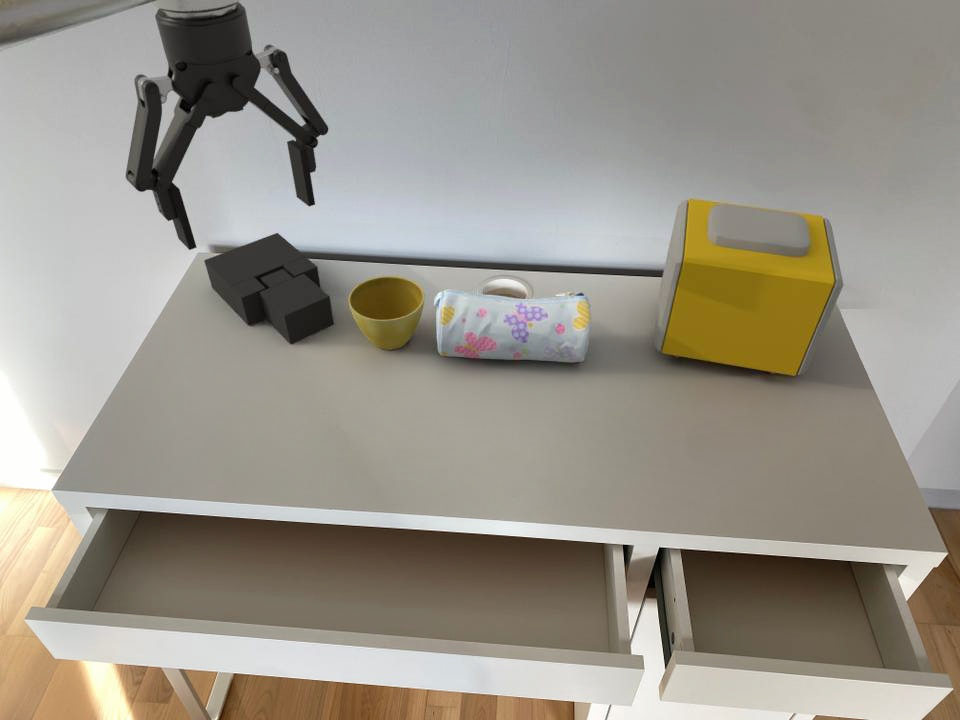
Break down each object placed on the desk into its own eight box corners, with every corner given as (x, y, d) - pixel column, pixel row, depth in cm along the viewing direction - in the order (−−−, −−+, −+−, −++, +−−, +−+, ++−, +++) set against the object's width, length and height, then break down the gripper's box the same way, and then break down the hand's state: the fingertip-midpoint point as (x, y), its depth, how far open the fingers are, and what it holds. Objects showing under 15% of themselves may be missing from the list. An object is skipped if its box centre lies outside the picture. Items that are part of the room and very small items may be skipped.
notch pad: (248, 326, 102) (241, 297, 98) (212, 287, 108) (203, 260, 105) (322, 294, 108) (317, 266, 104) (283, 259, 114) (277, 232, 111)
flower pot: (407, 308, 105) (404, 267, 100) (439, 347, 99) (437, 305, 94) (343, 329, 101) (337, 288, 97) (371, 371, 95) (366, 329, 90)
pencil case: (584, 333, 101) (592, 278, 95) (590, 375, 95) (599, 319, 88) (437, 330, 101) (434, 275, 95) (433, 372, 95) (430, 316, 89)
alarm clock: (793, 316, 105) (836, 204, 92) (801, 389, 93) (852, 272, 81) (657, 295, 108) (681, 184, 96) (649, 363, 97) (675, 247, 84)
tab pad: (290, 344, 99) (284, 316, 96) (256, 310, 104) (249, 282, 101) (334, 324, 102) (329, 296, 99) (298, 292, 108) (293, 264, 105)
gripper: (304, -27, 70) (332, 173, 84) (31, 22, 58) (117, 246, 72) (346, -10, 66) (367, 197, 80) (61, 47, 53) (146, 280, 68)
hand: (249, 221), depth 76 cm, fingers open, 13 cm apart
